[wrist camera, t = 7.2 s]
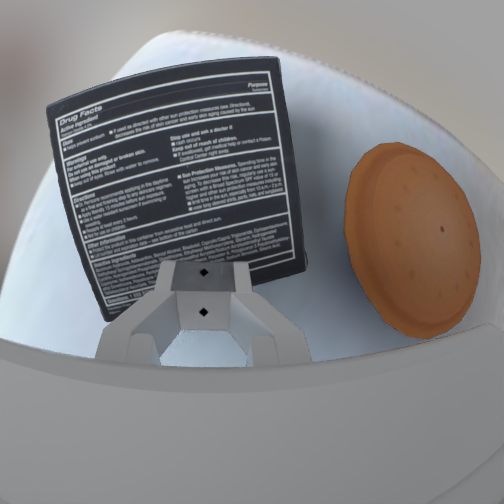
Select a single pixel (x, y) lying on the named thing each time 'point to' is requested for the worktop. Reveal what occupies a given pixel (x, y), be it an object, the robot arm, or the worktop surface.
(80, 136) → the small box
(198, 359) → the worktop surface
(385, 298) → the pie
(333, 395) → the robot arm
